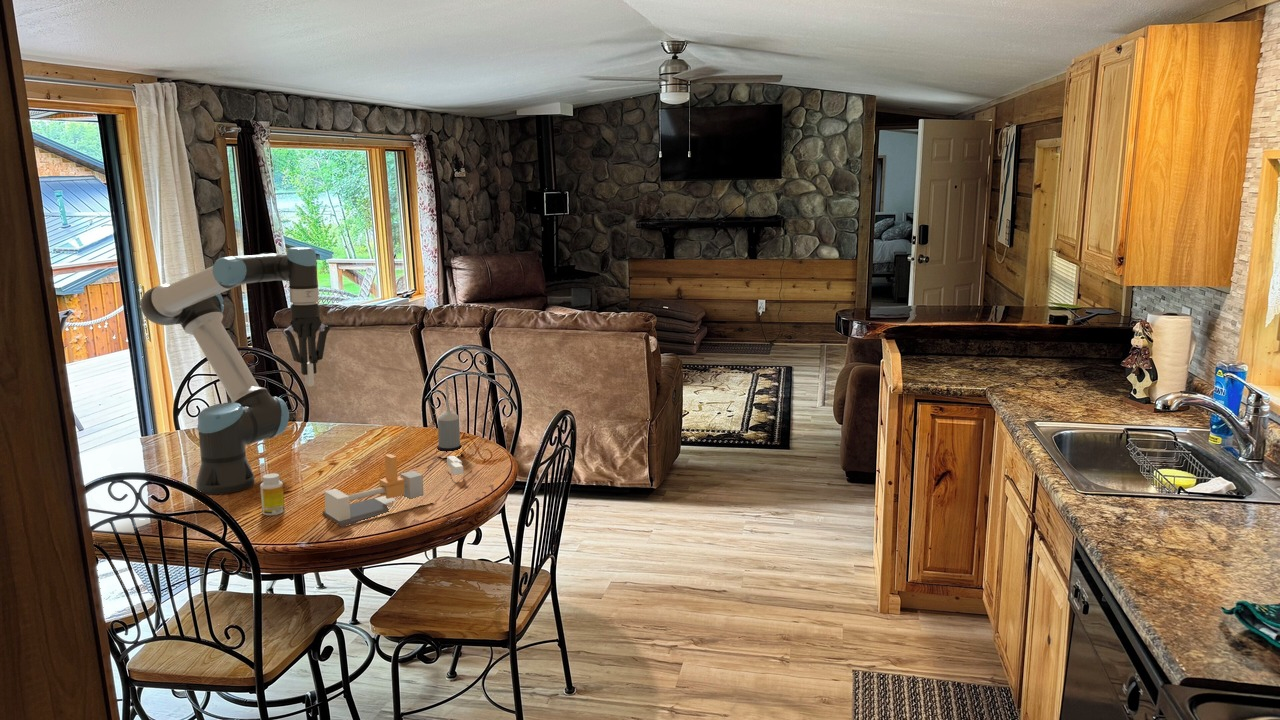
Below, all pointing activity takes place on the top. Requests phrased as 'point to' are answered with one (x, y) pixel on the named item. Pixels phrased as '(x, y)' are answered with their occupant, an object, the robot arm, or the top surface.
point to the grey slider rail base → (367, 501)
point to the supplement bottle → (272, 495)
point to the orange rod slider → (392, 478)
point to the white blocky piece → (455, 465)
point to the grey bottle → (448, 428)
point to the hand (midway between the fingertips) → (309, 385)
